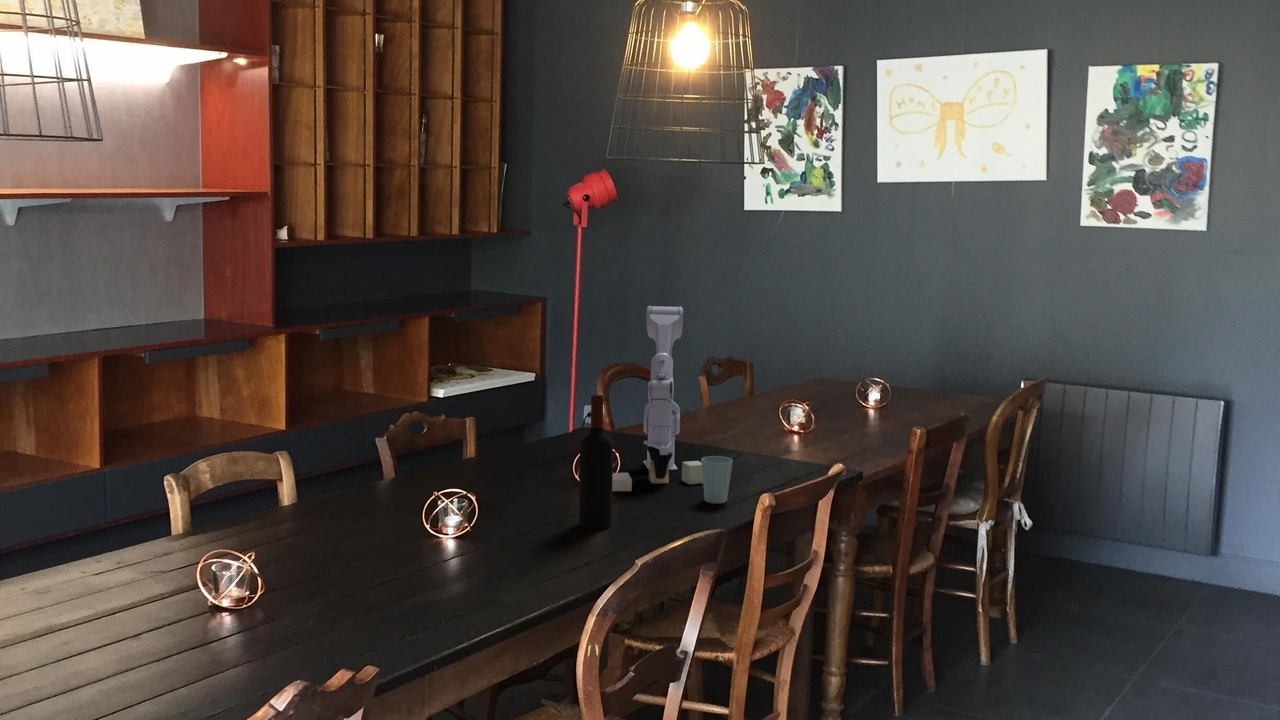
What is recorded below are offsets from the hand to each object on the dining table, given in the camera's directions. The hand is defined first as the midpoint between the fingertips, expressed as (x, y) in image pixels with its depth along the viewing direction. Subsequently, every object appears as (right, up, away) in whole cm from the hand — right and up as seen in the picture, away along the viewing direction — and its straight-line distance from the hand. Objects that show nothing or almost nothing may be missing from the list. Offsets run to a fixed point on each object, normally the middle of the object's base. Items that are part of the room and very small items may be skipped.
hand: (658, 475), depth 322 cm
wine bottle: (-15, -8, -41) cm, 44 cm away
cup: (+14, -5, -18) cm, 23 cm away
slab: (-11, -2, -7) cm, 13 cm away
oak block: (0, -1, 0) cm, 1 cm away
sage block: (+9, -2, +1) cm, 9 cm away
